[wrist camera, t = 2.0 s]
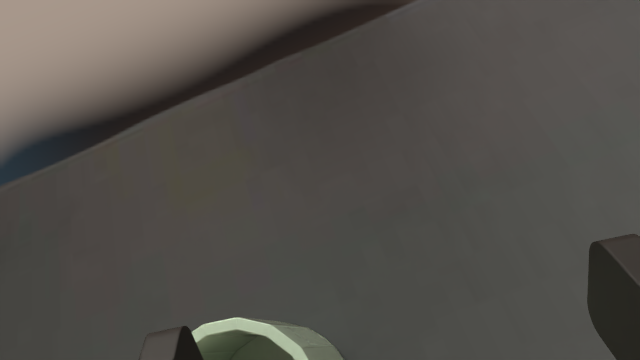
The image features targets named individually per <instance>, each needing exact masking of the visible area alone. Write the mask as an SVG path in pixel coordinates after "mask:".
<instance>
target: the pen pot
mask: <svg viewBox="0 0 640 360" xmlns="http://www.w3.org/2000/svg"><path fill="white" fill-rule="evenodd" d="M192 335H193V337H194V339H195V341H196V344H197V346H198V348H199V350H200V353H201V355H202V357H203V359H204V360H344V359H343V357H342V356H341V355H340V353H339V352H338V350H337V349H336V348H335V347H334V346H333V345H332V344H331V343H330V342H329V341H328V340H326V339H325V338H324V337H323V336H321V335H320V334H318V333H316V332H315V331H313V330H311V329H309V328H307V327H302V326H299V325H294V324H289V323H285V322H278V321H268V320H259V319H250V318H240V317H235V318H231V319H226V320H221V321H216V322H212V323H207V324H204V325H202V326H200V327H199V328H197V329H196V330H194V331H193V332H192Z"/></svg>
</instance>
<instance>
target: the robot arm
mask: <svg viewBox="0 0 640 360" xmlns="http://www.w3.org/2000/svg"><path fill="white" fill-rule="evenodd" d="M587 303H588V310H589V314H590V317H591V320H592V322H593V325H594V327H595V329H596V331H597V332H598V334H599V336H600V337H601V338H602V340H603V341H604V343H605V344H606V345H607V347H608V348H609V350H610V351H611V352H612V354H613V355H614V357H615V358H616V359H617V360H640V236H638V235H636V234H629V235H625V236H620V237H615V238H610V239H605V240H601V241H596V242H593V243H592V244H591V246H590V250H589V272H588V298H587ZM139 360H204V359H203V357H202V355H201V353H200V350H199V348H198V346H197V344H196V341H195V339H194V337H193V335H192V333H191V331H190V329H189V328H188V327H187V326H182V327H177V328H172V329H167V330H163V331H158V332H153V333H149V334H148V335H147V336H146V338H145V340H144V343H143V347H142V350H141V353H140V357H139Z"/></svg>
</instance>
